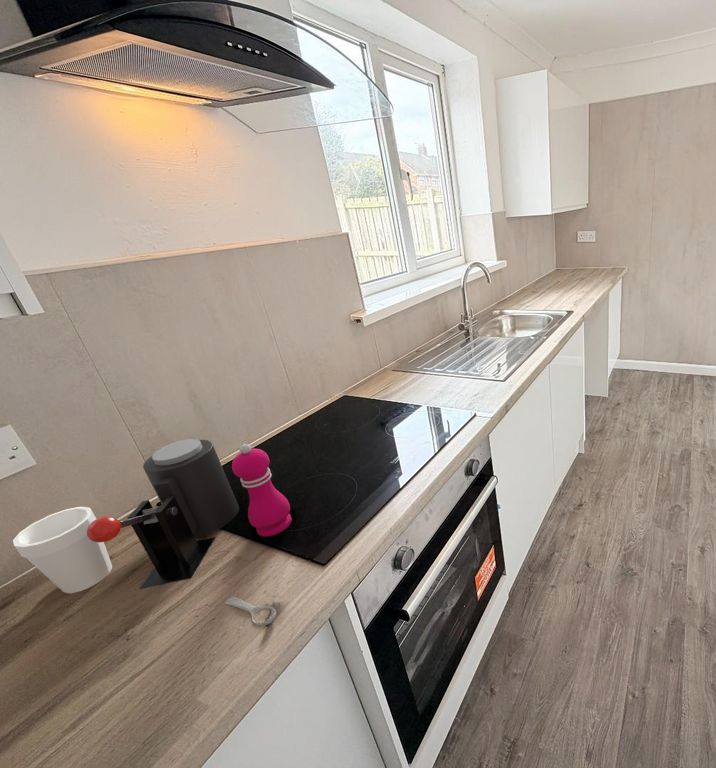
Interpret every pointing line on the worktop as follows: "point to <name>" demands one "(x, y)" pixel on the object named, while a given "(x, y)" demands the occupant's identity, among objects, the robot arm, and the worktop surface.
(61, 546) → the foam cup
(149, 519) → the red knob lever
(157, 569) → the bracket
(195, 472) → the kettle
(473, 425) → the worktop surface
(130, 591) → the worktop surface
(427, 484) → the worktop surface
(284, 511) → the pepper mill
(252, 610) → the bottle opener
